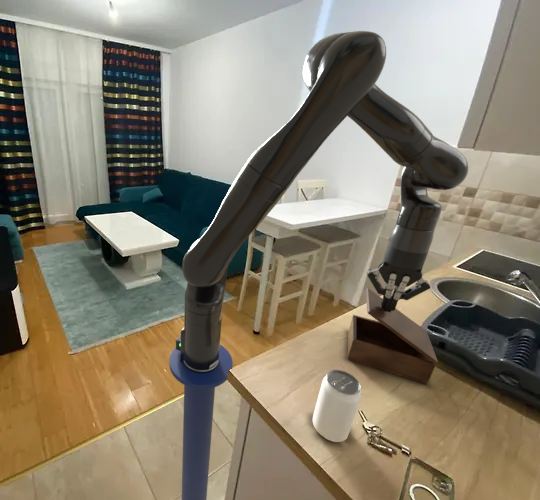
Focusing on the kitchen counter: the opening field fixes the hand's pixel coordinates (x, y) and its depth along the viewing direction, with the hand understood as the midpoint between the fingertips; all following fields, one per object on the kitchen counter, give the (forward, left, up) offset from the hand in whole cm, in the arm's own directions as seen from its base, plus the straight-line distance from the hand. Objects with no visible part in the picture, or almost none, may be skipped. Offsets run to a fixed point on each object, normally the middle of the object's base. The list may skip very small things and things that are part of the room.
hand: (386, 310), depth 72 cm
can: (-9, -29, -13) cm, 33 cm away
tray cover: (+3, 0, -3) cm, 4 cm away
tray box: (+2, 0, -13) cm, 13 cm away
